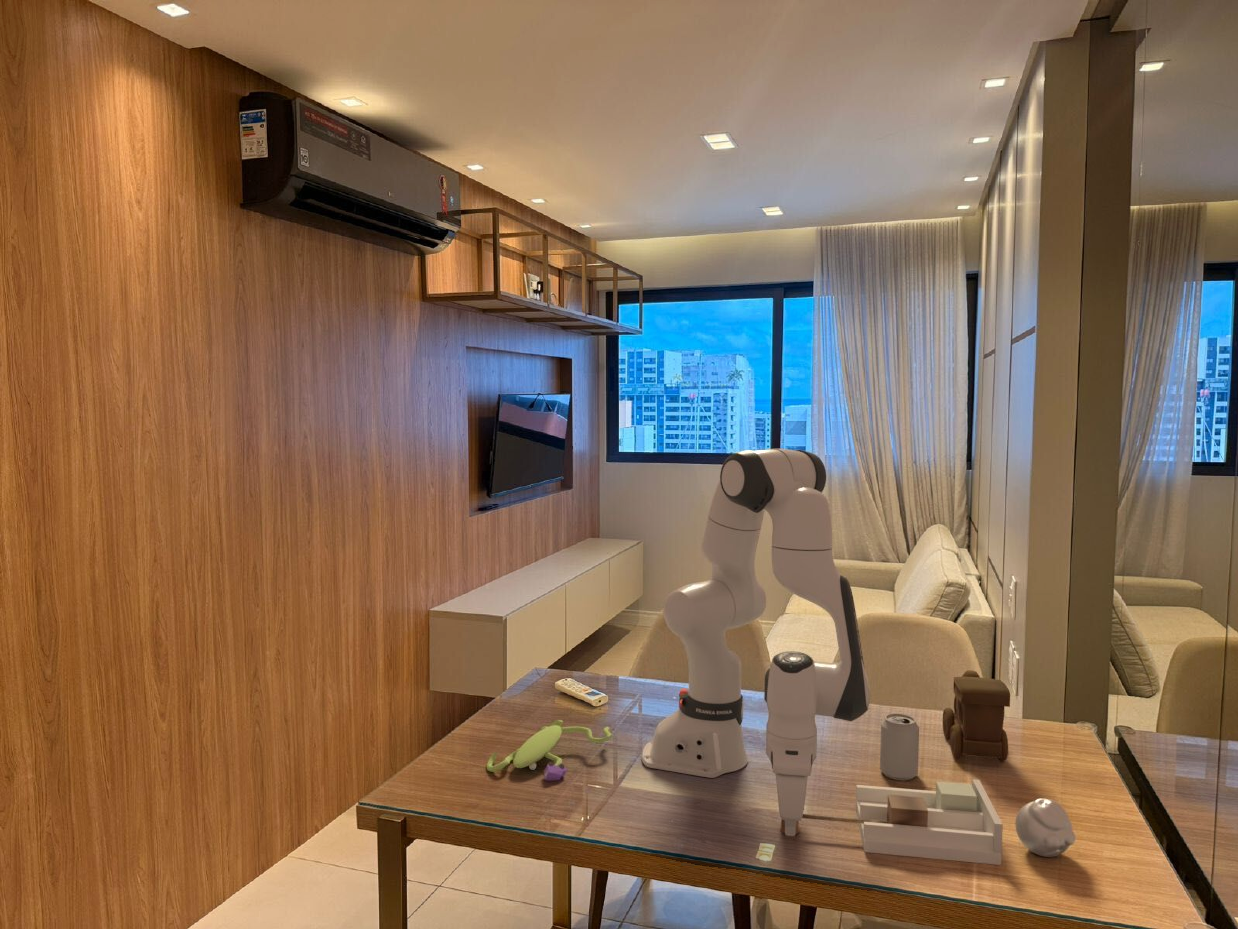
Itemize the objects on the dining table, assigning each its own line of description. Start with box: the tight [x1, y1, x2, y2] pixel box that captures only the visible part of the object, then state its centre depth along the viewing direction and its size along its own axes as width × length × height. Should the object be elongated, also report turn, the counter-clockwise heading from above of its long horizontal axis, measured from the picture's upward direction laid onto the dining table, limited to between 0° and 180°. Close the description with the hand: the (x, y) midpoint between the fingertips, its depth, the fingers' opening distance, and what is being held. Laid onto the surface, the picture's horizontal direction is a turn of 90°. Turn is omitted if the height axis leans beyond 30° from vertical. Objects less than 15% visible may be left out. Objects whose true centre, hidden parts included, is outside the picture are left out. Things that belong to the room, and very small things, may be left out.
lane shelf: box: [855, 778, 1004, 866], centre depth 153 cm, size 22×17×7 cm
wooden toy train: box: [942, 670, 1011, 763], centre depth 190 cm, size 20×11×17 cm, turn 168°
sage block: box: [935, 781, 977, 812], centre depth 156 cm, size 6×5×5 cm
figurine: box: [486, 719, 613, 782], centre depth 185 cm, size 18×27×6 cm
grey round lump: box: [1014, 797, 1076, 858], centre depth 146 cm, size 9×10×10 cm
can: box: [879, 712, 920, 781], centre depth 177 cm, size 8×8×12 cm
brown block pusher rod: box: [780, 795, 928, 835], centre depth 152 cm, size 24×5×7 cm, turn 80°
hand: (789, 821), depth 154 cm, fingers open, 8 cm apart
